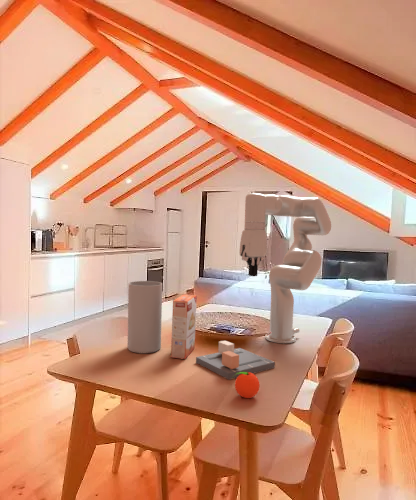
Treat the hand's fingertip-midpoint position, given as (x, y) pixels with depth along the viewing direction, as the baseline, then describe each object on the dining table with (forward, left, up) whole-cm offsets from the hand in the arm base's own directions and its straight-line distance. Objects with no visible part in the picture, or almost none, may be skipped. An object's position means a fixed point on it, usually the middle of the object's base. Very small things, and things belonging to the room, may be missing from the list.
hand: (252, 275), depth 155 cm
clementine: (+29, +30, -29) cm, 51 cm away
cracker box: (+23, -11, -29) cm, 39 cm away
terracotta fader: (+21, +14, -26) cm, 37 cm away
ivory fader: (+15, +4, -27) cm, 31 cm away
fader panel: (+15, +9, -29) cm, 34 cm away
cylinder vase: (+33, -23, -29) cm, 50 cm away
